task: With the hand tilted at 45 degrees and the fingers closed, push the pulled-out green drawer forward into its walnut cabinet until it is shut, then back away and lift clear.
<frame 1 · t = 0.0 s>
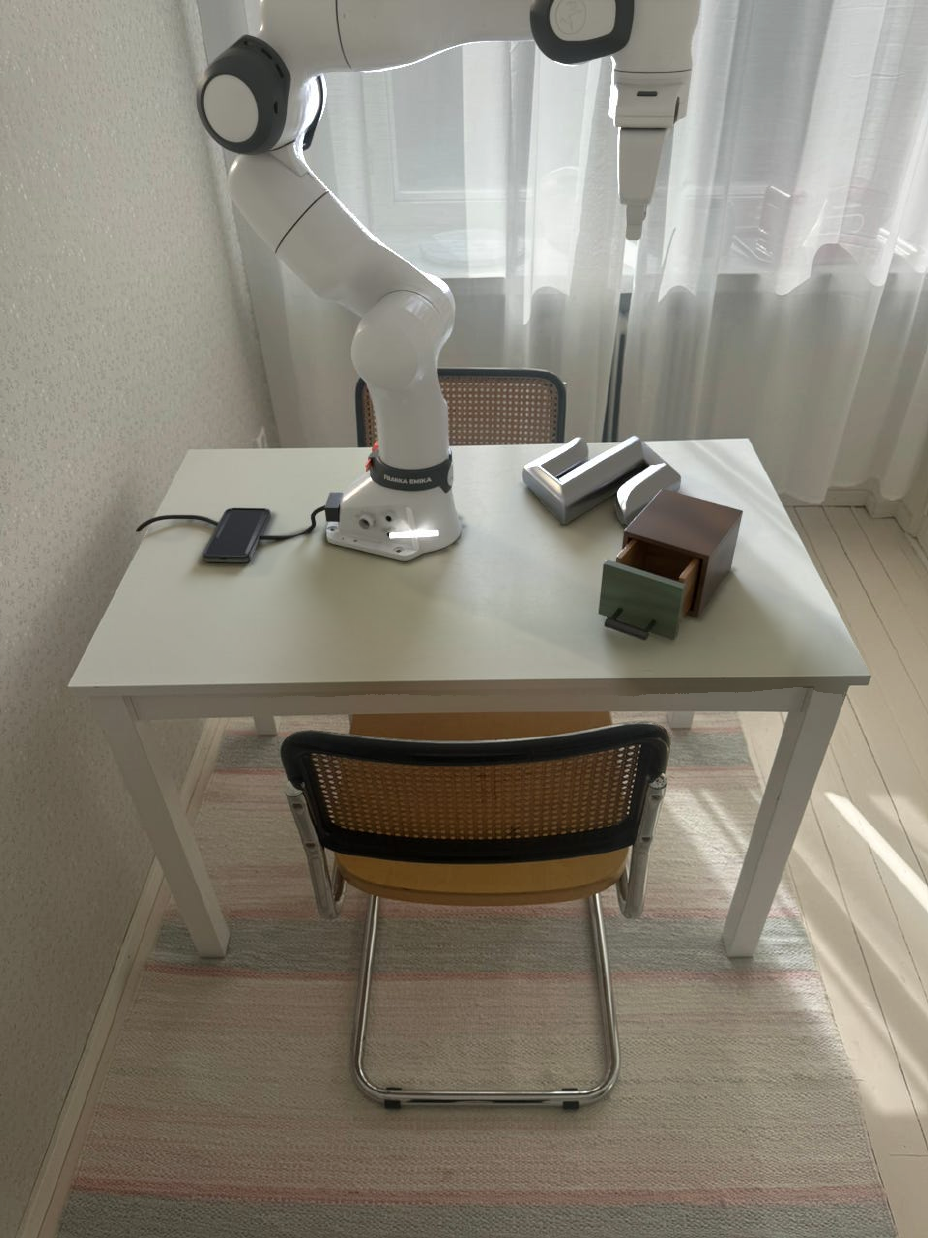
hand: (635, 228, 104), 48 cm above the table, tool pointing down, fingers open, 8 cm apart
green drawer: (651, 585, 117), point 5 cm above the table, slide at 6.5 cm
emblem: (599, 489, 150), on the table
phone: (238, 537, 139), on the table
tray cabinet: (674, 580, 127), on the table
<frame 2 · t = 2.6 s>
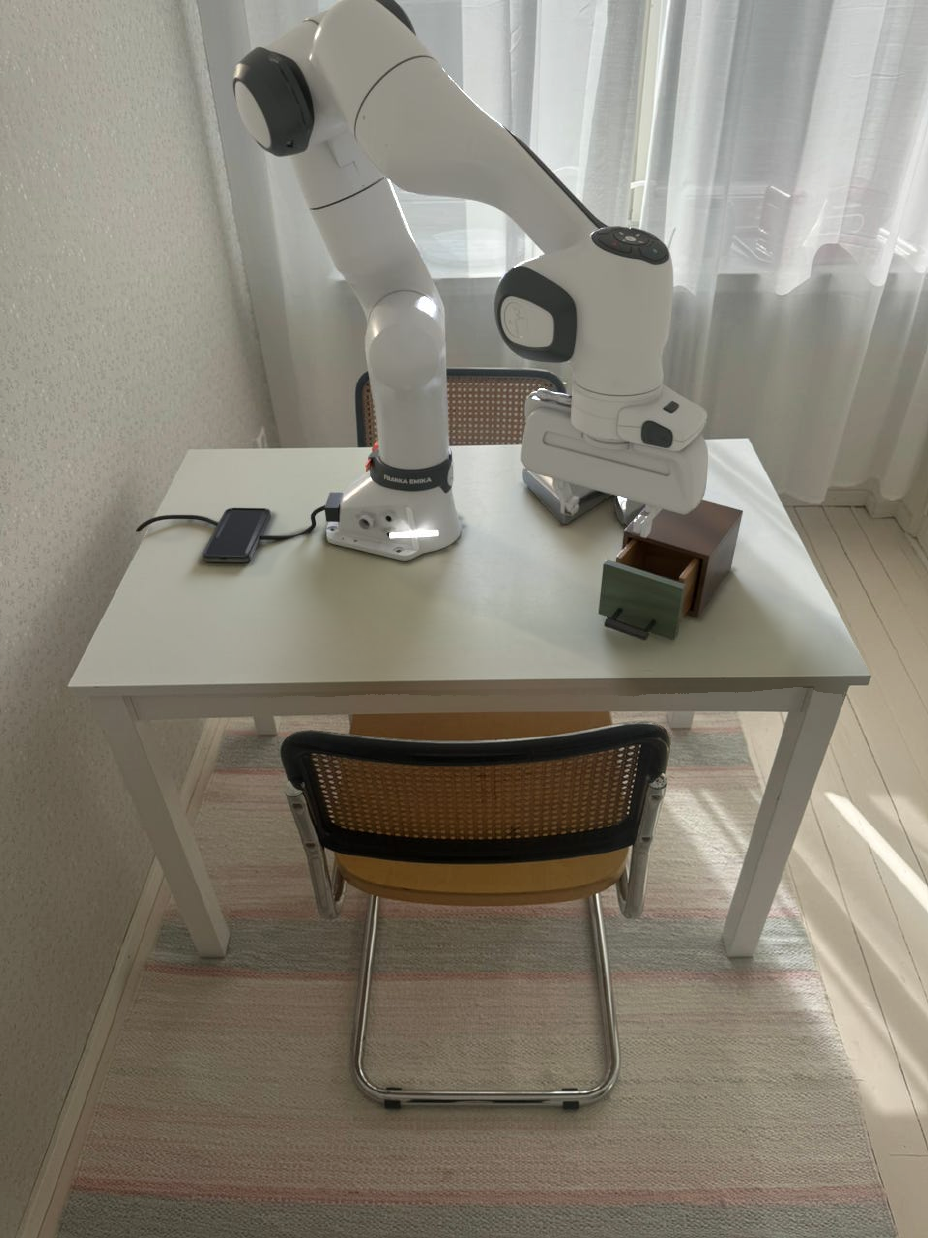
hand: (604, 523, 93), 25 cm above the table, tool pointing down, fingers open, 7 cm apart
nothing on the table moved.
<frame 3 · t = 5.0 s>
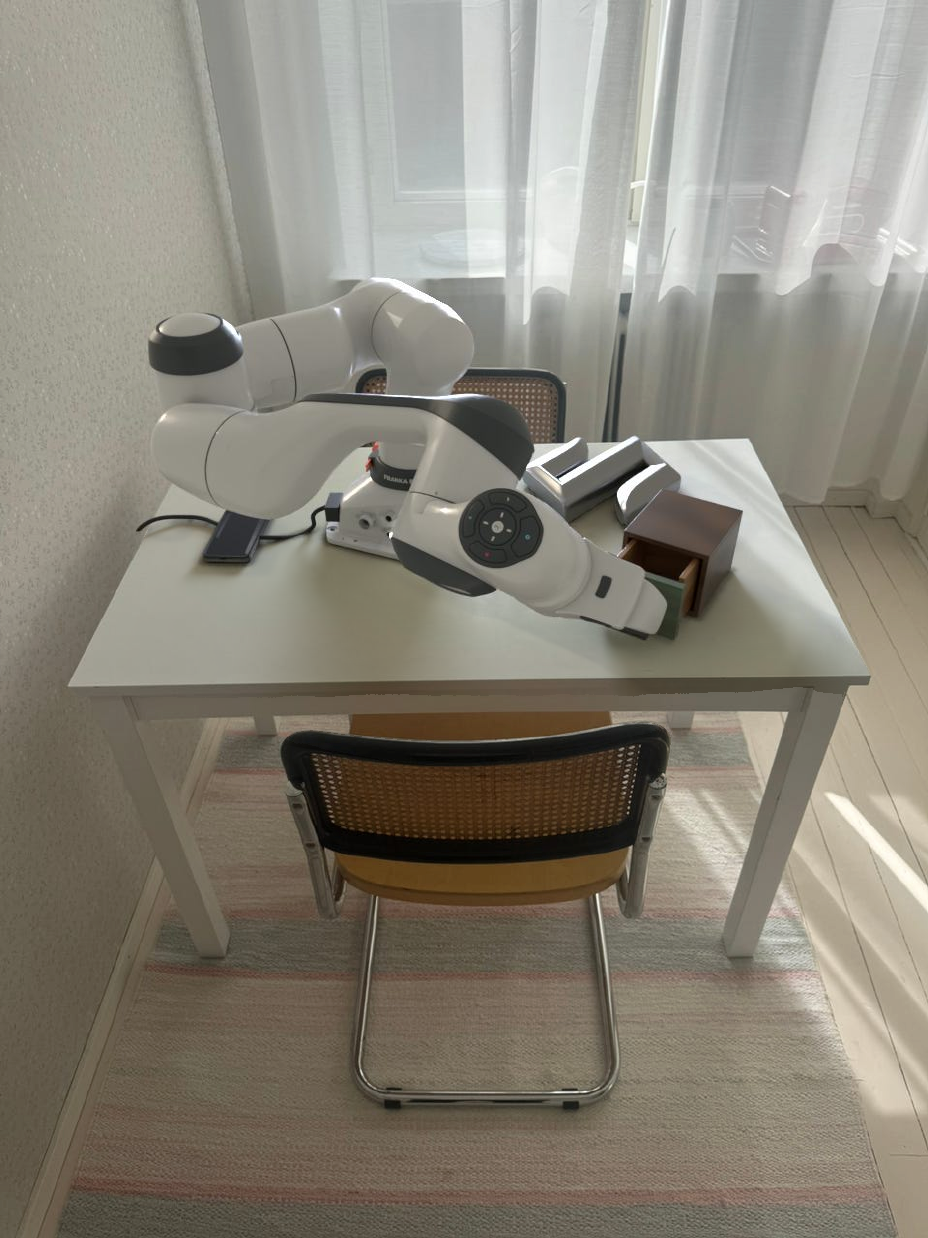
hand: (589, 600, 97), 16 cm above the table, tool tilted 45°, fingers closed
nothing on the table moved.
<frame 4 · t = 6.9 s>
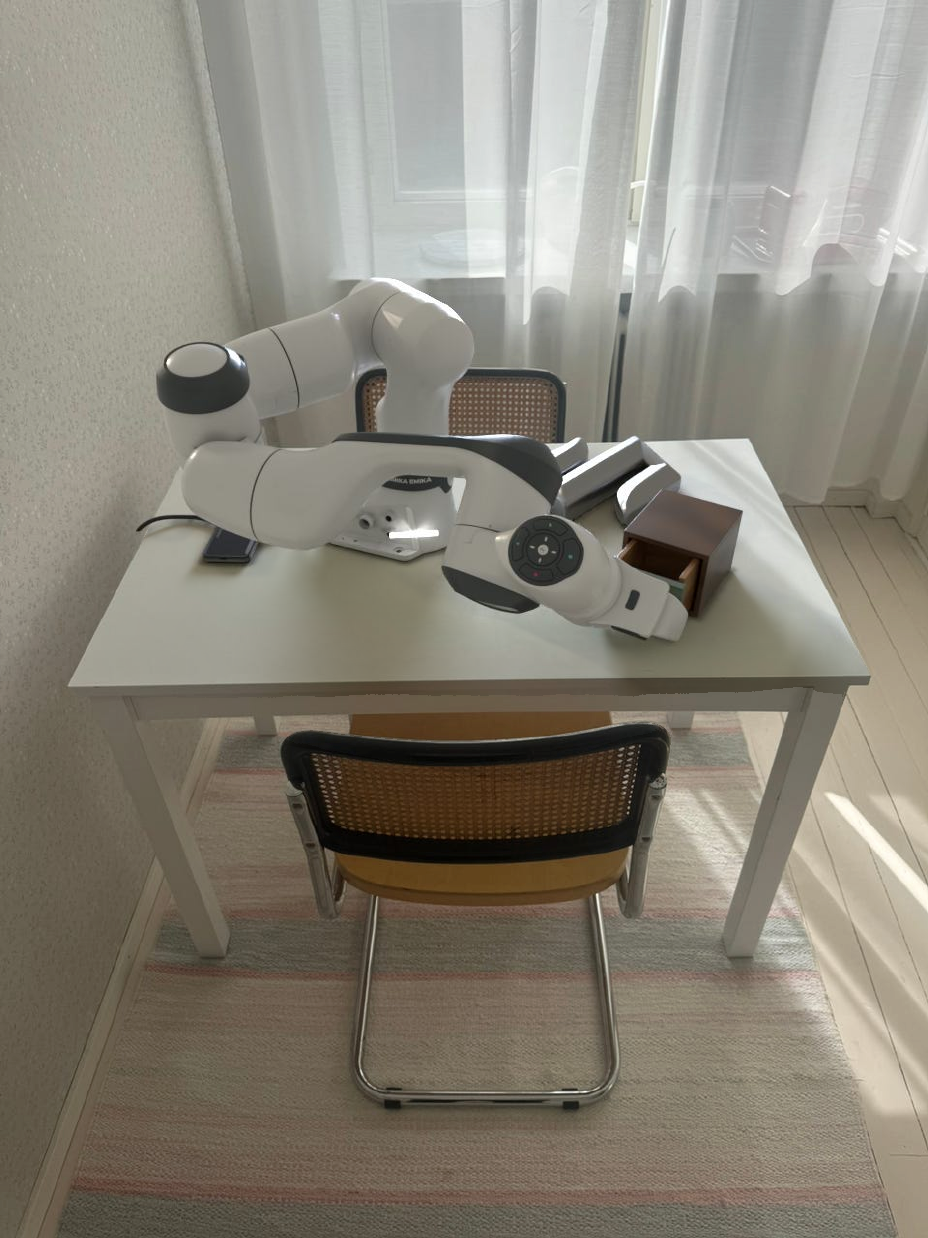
hand: (615, 609, 106), 9 cm above the table, tool tilted 45°, fingers closed
nothing on the table moved.
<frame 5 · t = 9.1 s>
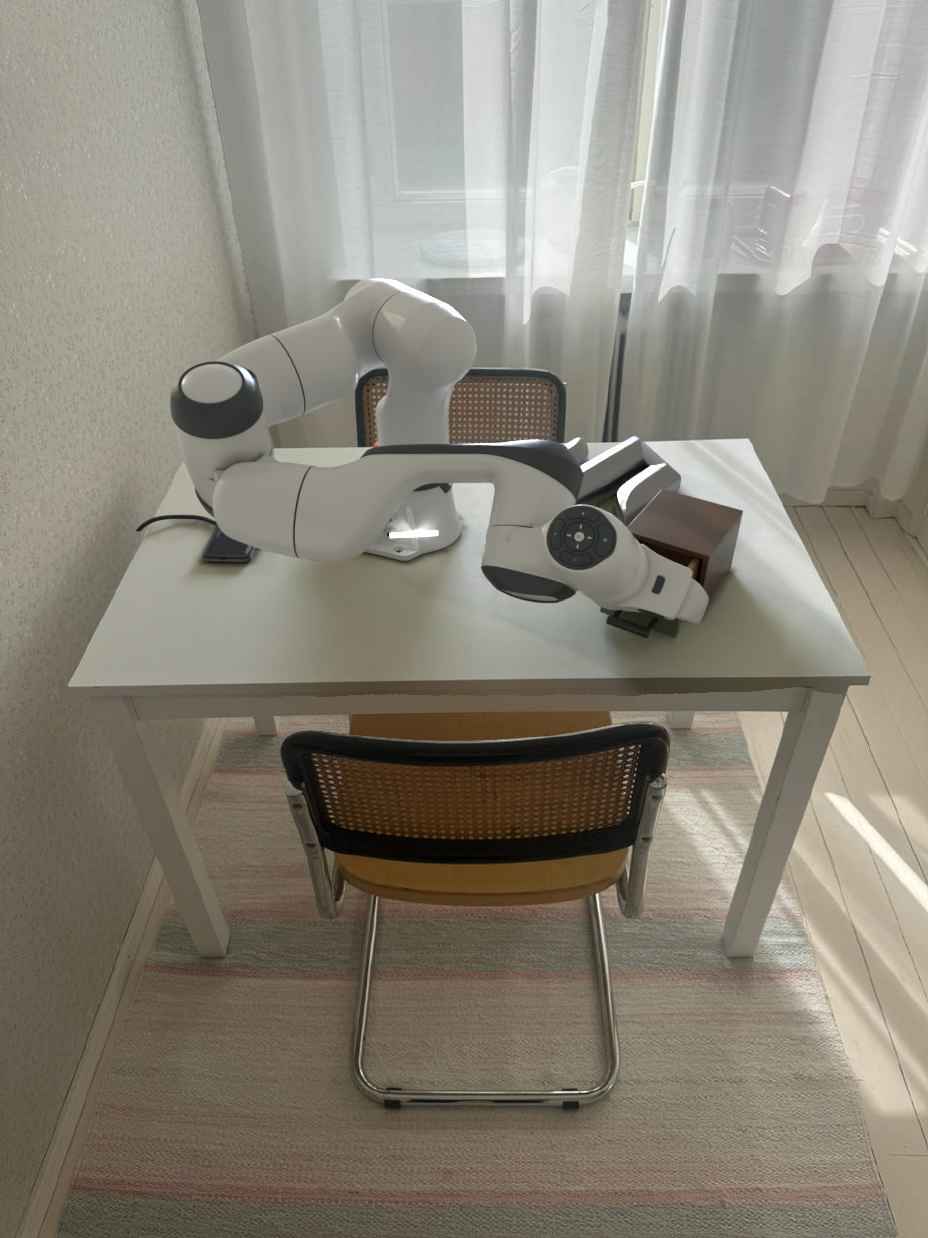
hand: (639, 595, 114), 6 cm above the table, tool tilted 45°, fingers closed, pressing on green drawer
green drawer: (653, 583, 118), point 5 cm above the table, slide at 5.9 cm, touching gripper
everything else where it was.
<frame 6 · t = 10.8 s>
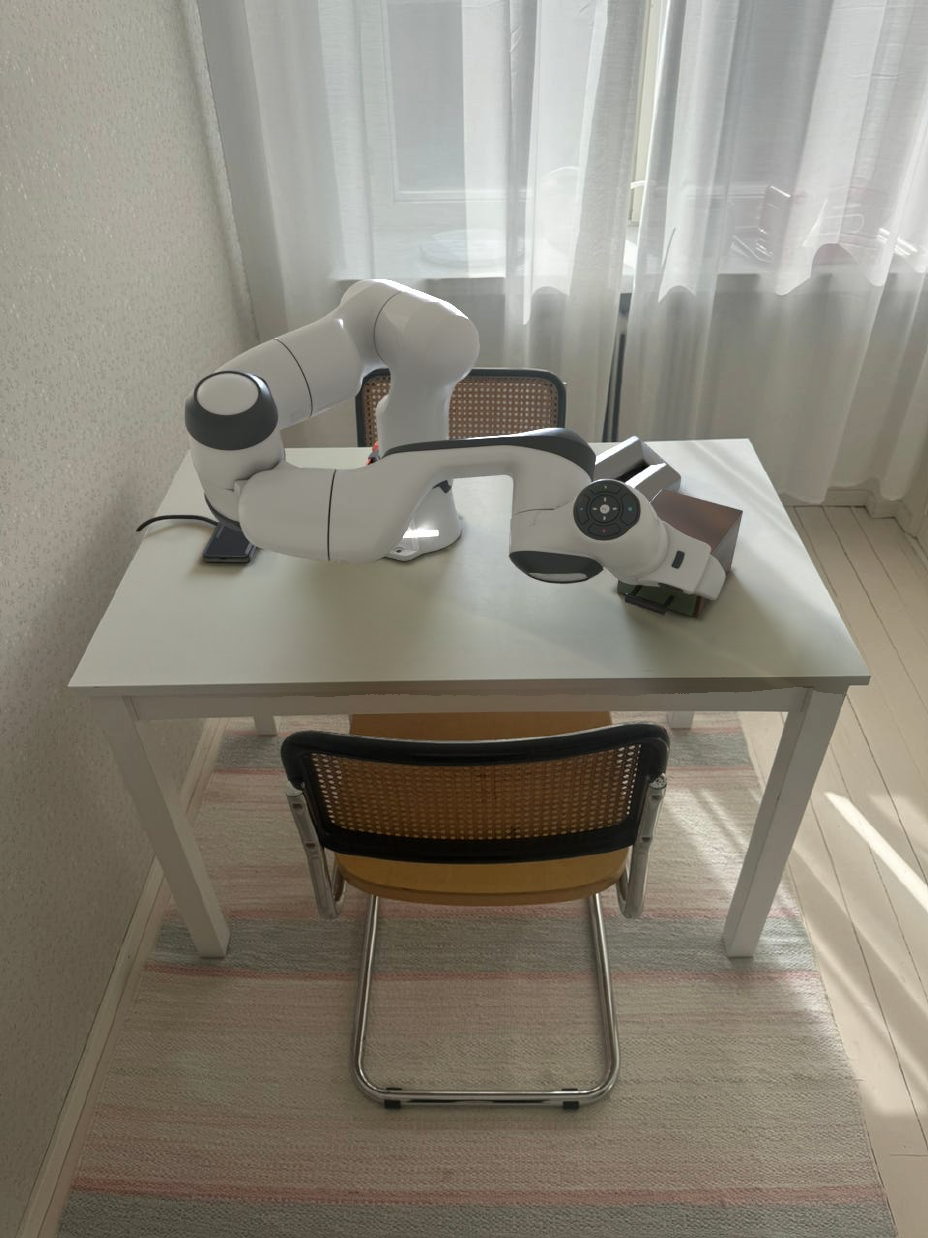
hand: (657, 574, 117), 6 cm above the table, tool tilted 45°, fingers closed, pressing on green drawer
green drawer: (669, 563, 121), point 5 cm above the table, slide at 0.0 cm, touching gripper, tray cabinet
everything else where it was.
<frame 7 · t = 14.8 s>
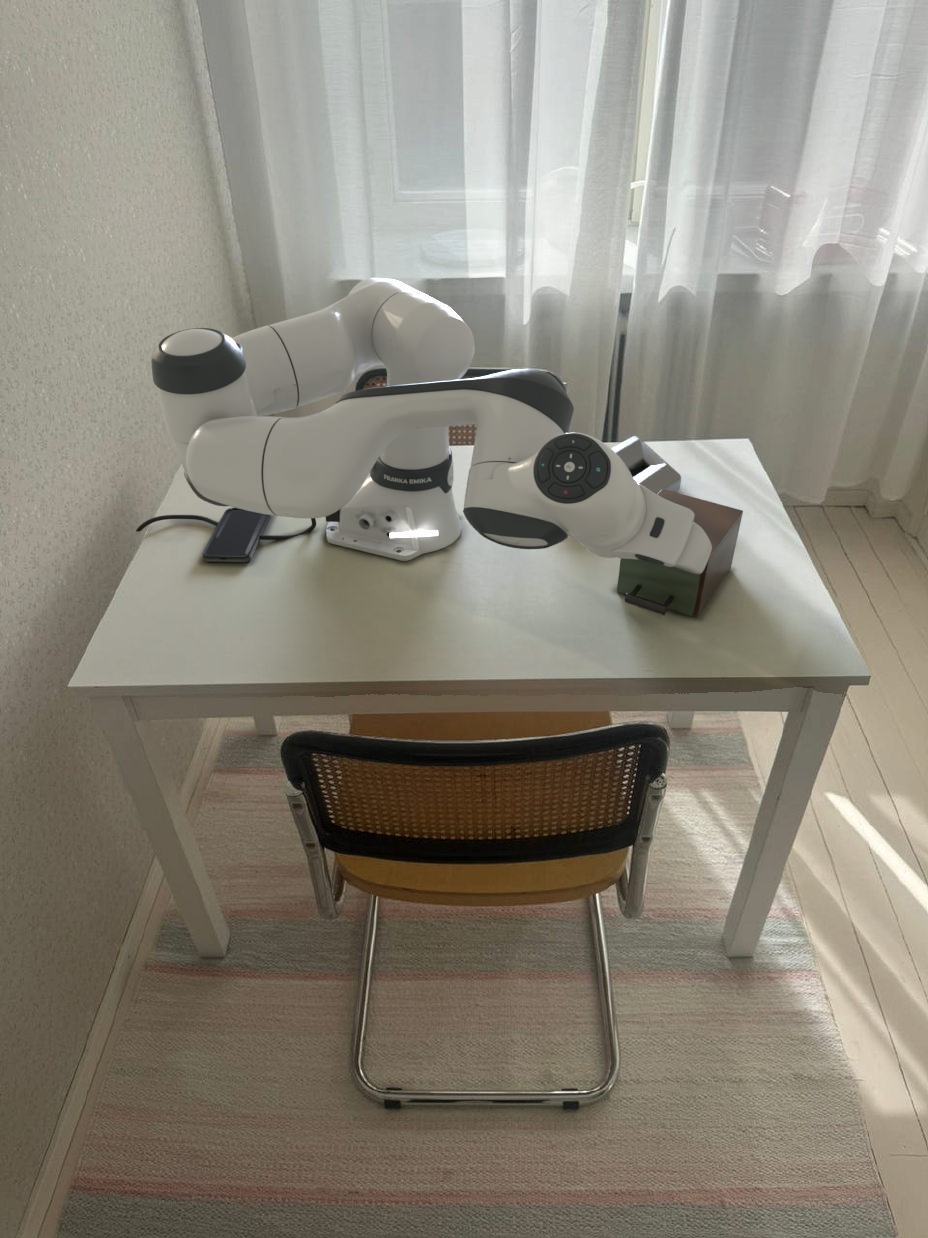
hand: (636, 548, 105), 16 cm above the table, tool tilted 45°, fingers closed
green drawer: (669, 563, 121), point 5 cm above the table, slide at 0.0 cm, touching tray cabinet
everything else where it was.
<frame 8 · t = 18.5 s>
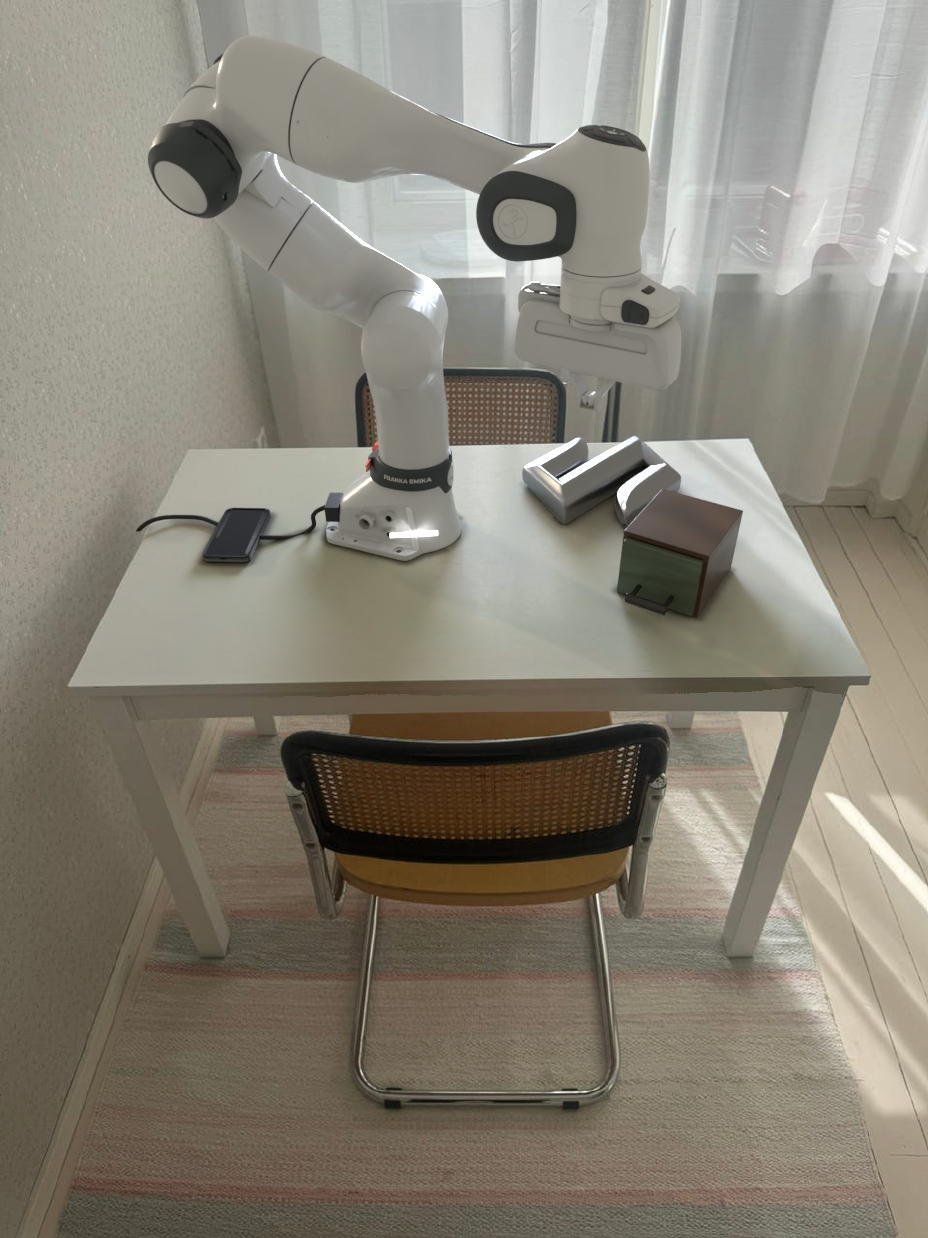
hand: (589, 407, 103), 31 cm above the table, tool pointing down, fingers closed
nothing on the table moved.
at the end: green drawer slide at 0.0 cm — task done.
